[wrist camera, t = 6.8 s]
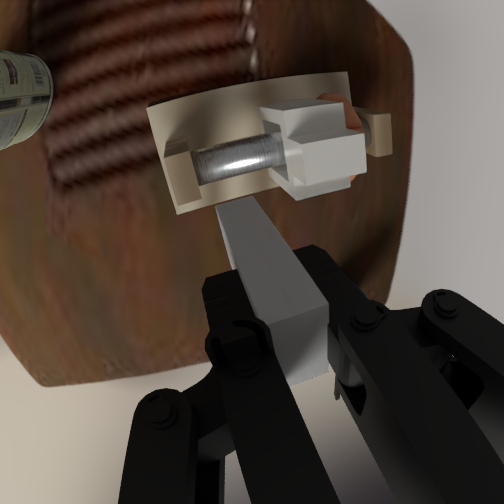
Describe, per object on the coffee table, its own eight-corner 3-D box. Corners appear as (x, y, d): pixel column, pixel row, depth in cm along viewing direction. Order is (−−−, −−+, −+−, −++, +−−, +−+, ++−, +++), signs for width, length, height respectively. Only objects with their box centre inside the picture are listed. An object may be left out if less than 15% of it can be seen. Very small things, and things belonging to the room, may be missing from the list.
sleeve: (269, 176, 30) (309, 213, 22) (256, 106, 26) (296, 113, 18) (314, 165, 30) (367, 197, 22) (305, 98, 27) (361, 105, 18)
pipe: (181, 187, 26) (182, 200, 23) (170, 150, 24) (170, 158, 21) (366, 144, 28) (386, 151, 26) (363, 111, 27) (384, 115, 24)
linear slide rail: (177, 212, 33) (180, 252, 25) (146, 107, 26) (136, 112, 19) (354, 166, 35) (399, 190, 28) (344, 71, 29) (394, 71, 21)
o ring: (313, 169, 31) (353, 194, 24) (302, 93, 27) (345, 96, 20) (327, 165, 31) (370, 190, 24) (318, 91, 27) (364, 95, 20)
